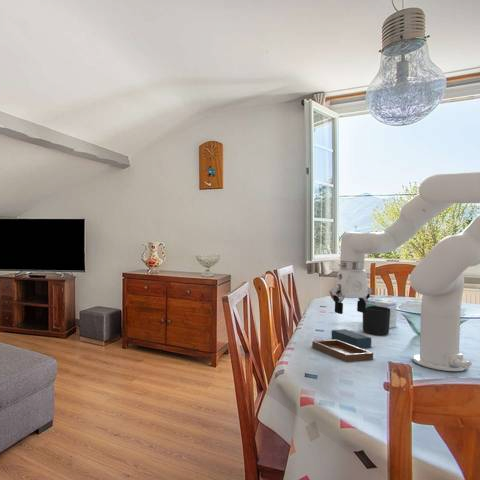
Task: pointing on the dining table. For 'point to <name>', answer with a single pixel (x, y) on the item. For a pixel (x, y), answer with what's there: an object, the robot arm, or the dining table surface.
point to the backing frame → (342, 350)
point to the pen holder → (376, 320)
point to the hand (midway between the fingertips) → (349, 312)
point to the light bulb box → (387, 304)
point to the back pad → (352, 338)
